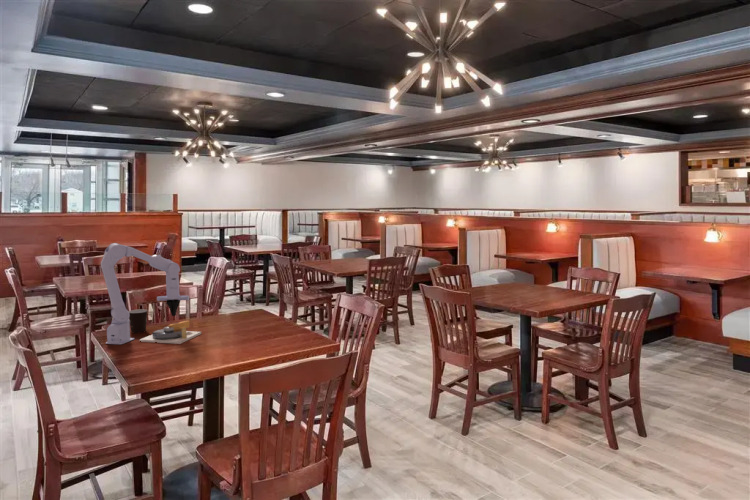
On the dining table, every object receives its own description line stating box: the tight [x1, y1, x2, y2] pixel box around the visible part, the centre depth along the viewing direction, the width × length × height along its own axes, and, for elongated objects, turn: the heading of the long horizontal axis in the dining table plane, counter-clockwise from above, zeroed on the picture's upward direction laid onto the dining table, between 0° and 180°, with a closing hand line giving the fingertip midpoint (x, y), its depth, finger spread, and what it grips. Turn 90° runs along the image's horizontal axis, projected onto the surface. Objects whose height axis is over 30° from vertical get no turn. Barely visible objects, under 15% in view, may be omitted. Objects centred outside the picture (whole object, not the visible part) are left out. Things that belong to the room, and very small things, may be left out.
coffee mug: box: [128, 308, 148, 334], centre depth 258 cm, size 12×9×10 cm
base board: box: [139, 328, 202, 345], centre depth 245 cm, size 18×20×6 cm
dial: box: [151, 320, 190, 339], centre depth 245 cm, size 18×14×4 cm
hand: (173, 315), depth 251 cm, fingers closed
